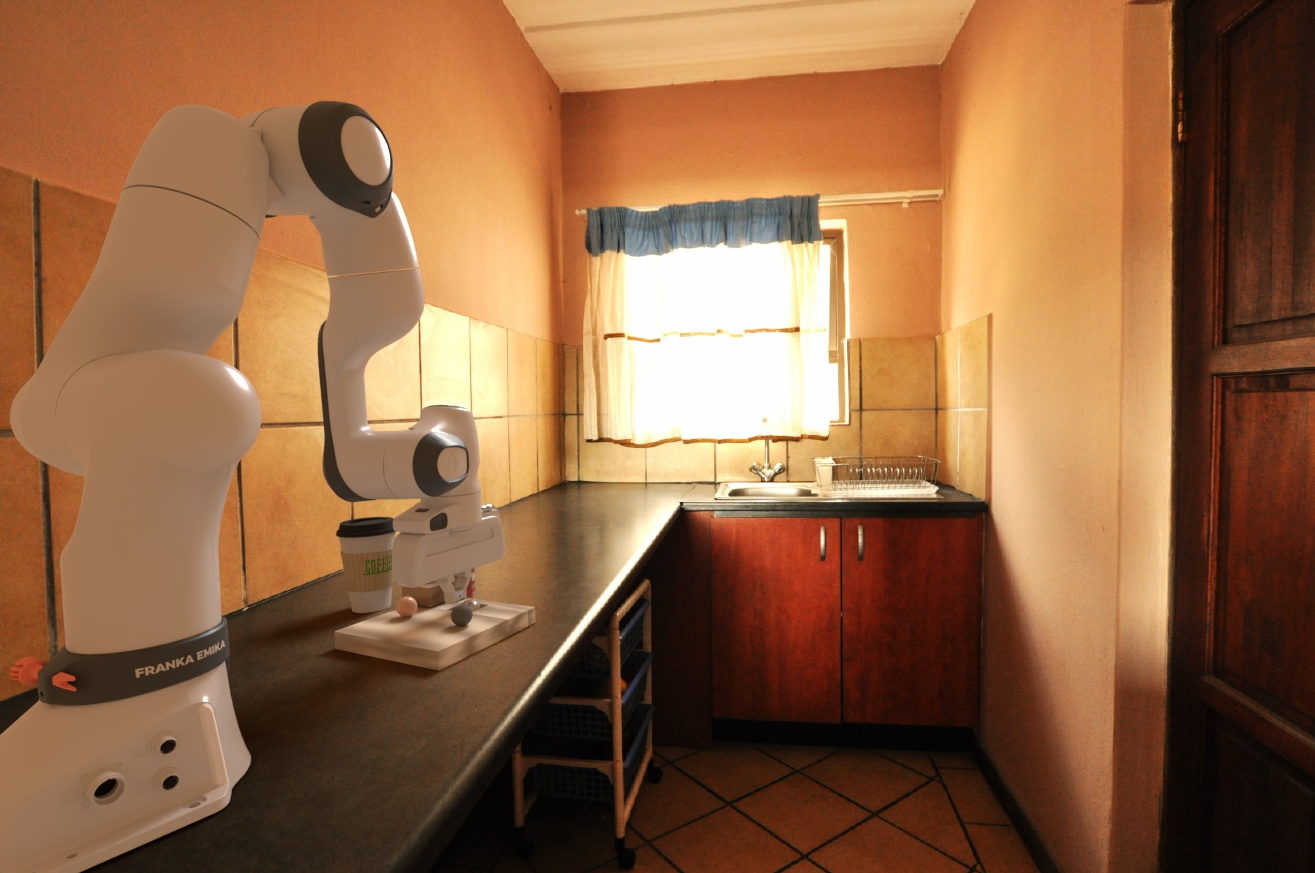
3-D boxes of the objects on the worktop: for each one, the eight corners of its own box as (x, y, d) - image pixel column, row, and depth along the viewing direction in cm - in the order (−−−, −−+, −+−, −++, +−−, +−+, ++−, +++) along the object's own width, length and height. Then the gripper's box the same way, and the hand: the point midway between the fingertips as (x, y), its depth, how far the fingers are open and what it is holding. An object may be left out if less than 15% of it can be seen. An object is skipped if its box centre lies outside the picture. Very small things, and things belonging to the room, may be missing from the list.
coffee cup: (402, 611, 110) (398, 522, 110) (337, 619, 107) (332, 528, 106) (401, 596, 120) (397, 514, 119) (342, 603, 116) (337, 519, 115)
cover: (430, 607, 103) (428, 580, 102) (402, 603, 105) (401, 577, 105) (457, 596, 108) (456, 571, 108) (431, 593, 111) (429, 568, 111)
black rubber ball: (462, 630, 92) (461, 608, 92) (446, 627, 94) (445, 606, 94) (477, 623, 95) (476, 602, 95) (461, 620, 96) (460, 600, 96)
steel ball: (481, 626, 103) (467, 620, 101) (464, 624, 105) (450, 617, 102) (489, 605, 105) (475, 597, 102) (472, 602, 106) (459, 595, 104)
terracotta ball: (406, 620, 97) (405, 600, 97) (392, 618, 99) (391, 598, 99) (422, 614, 100) (421, 595, 100) (408, 612, 101) (407, 593, 101)
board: (439, 670, 84) (438, 651, 84) (335, 648, 94) (334, 631, 93) (535, 622, 102) (535, 607, 102) (440, 608, 111) (439, 593, 111)
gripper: (483, 501, 111) (486, 582, 111) (382, 521, 93) (387, 618, 93) (512, 502, 108) (515, 585, 109) (415, 524, 90) (419, 624, 90)
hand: (455, 601), depth 101 cm, fingers closed
